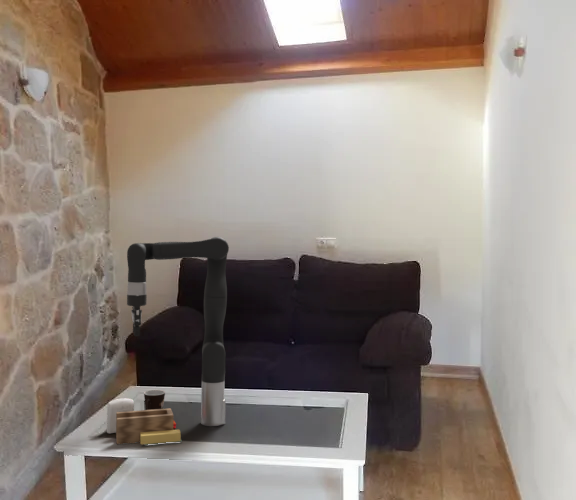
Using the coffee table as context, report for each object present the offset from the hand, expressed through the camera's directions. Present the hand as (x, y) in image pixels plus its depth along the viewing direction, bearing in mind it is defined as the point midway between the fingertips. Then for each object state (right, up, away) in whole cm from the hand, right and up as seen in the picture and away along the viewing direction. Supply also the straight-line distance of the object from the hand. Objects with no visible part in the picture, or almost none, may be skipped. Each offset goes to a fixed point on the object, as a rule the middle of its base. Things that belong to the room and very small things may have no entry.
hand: (136, 334), depth 227 cm
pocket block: (+7, -36, -14) cm, 40 cm away
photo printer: (-4, -36, -7) cm, 37 cm away
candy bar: (+12, -37, +2) cm, 39 cm away
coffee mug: (+4, -36, +10) cm, 38 cm away
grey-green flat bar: (+15, -37, -19) cm, 44 cm away
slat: (+14, -36, -20) cm, 43 cm away
